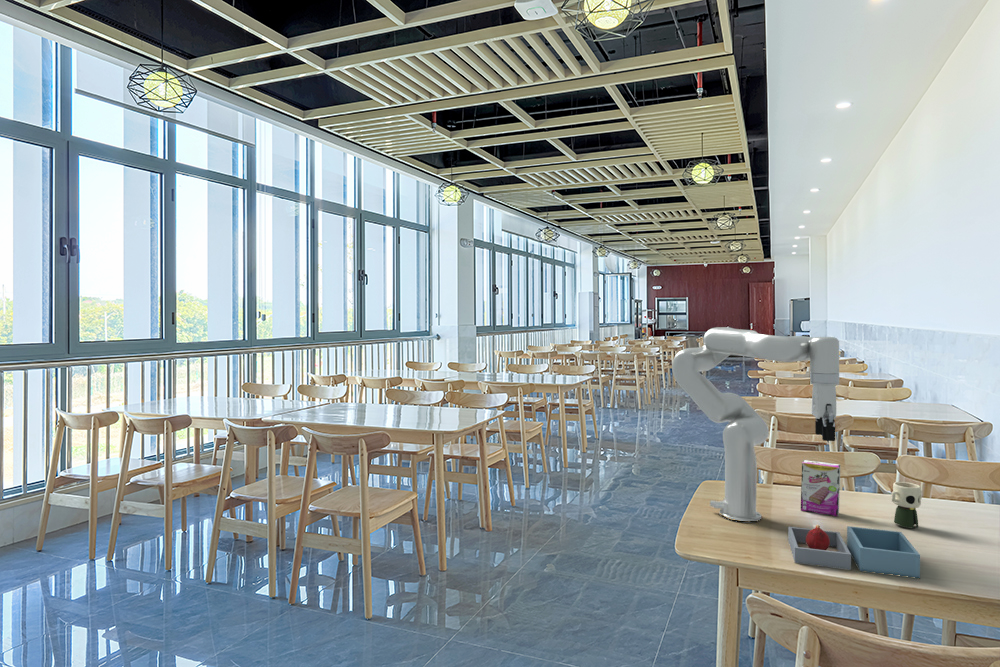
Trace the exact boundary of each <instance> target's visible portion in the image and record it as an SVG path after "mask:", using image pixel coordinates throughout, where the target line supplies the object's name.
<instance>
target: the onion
mask: <svg viewBox="0 0 1000 667" xmlns="http://www.w3.org/2000/svg"><path fill="white" fill-rule="evenodd" d="M811 529H812V530H810V531H809V532H808V534H807V536H806V543H805V544H806V545H807V546H808V547H807V548H810V549H818V550H826V551H828V549H829V548H830V546H829V545H830V540H829V537H828V535H827V534H826V533H825V532H824V531H825V530H823V529H822V528H821V525H819V524H816V525H815V527H814V528H811Z"/></svg>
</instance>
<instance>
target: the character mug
mask: <svg viewBox="0 0 1000 667" xmlns="http://www.w3.org/2000/svg"><path fill="white" fill-rule="evenodd" d="M922 491H923V490H922V487H921V486H920V485H919V484H916V483H913V482H906V481H895V482H893V485H892V491H891V498H890V499H891V502H893V504H894V505H896V508H895V512H894V520H893V523H894V524H896V525H899V526H900V527H901V528H907V529H915V528H916V529H918V528H919V518H918V511H917V508H920V506H921V505H922V501H921V500H922V499H923V498H922V496H923V492H922ZM914 527H915V528H914Z"/></svg>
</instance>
